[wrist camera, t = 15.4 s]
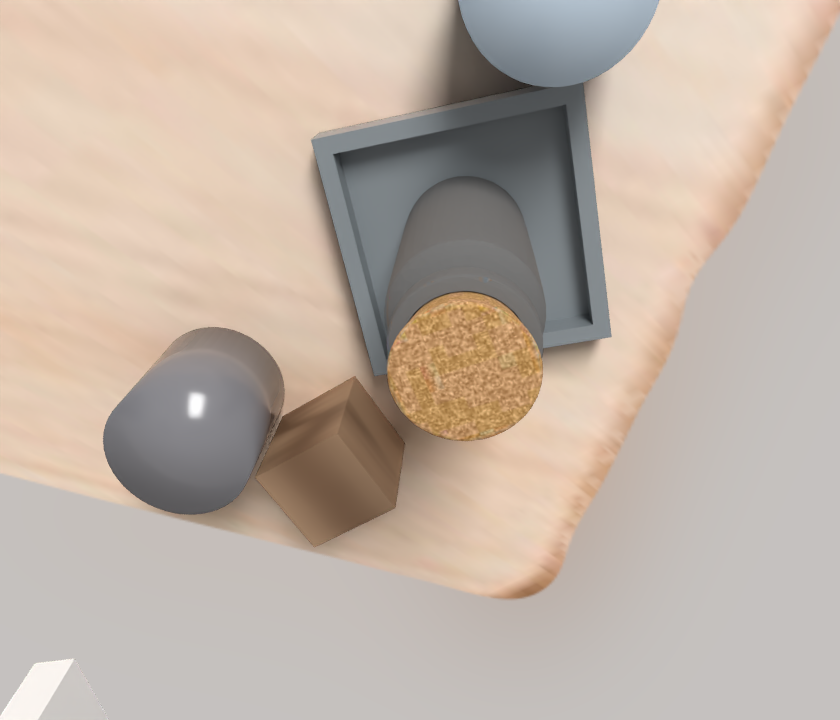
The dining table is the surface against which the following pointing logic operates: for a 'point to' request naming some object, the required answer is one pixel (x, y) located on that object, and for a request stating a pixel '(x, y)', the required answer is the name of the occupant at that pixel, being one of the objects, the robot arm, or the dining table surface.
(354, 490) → the walnut block
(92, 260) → the dining table surface
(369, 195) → the tray
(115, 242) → the dining table surface
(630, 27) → the light blue cylinder
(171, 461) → the gray domed object
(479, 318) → the bottle
